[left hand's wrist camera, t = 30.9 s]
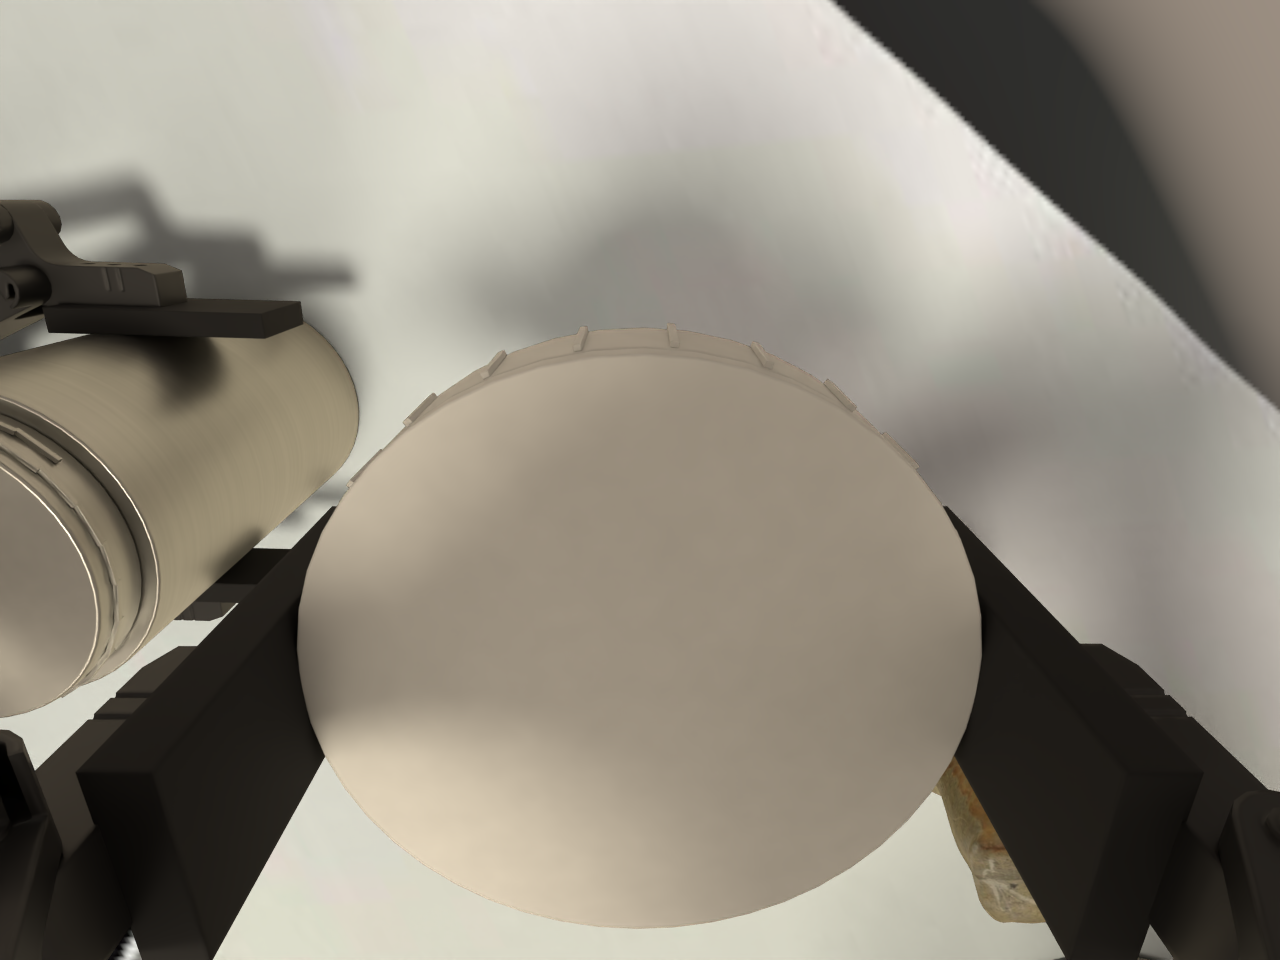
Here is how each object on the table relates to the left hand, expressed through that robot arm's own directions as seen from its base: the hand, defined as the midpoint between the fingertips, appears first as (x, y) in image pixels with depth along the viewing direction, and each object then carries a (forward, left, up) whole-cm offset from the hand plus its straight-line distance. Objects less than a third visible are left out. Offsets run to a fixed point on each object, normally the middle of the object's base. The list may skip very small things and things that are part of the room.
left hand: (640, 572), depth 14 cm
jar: (+12, +11, -18) cm, 24 cm away
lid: (0, 0, +3) cm, 3 cm away
